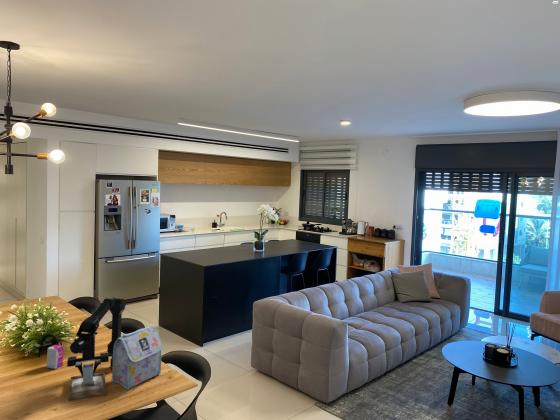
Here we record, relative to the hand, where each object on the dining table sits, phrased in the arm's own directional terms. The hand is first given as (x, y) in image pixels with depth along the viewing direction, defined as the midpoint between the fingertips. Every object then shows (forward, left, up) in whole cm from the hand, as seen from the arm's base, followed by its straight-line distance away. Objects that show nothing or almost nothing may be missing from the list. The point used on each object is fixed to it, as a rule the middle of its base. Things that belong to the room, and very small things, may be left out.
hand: (88, 375), depth 206 cm
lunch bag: (-24, -3, -7) cm, 25 cm away
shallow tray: (0, 0, -7) cm, 7 cm away
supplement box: (+17, -32, -7) cm, 37 cm away
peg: (0, 0, -3) cm, 3 cm away
